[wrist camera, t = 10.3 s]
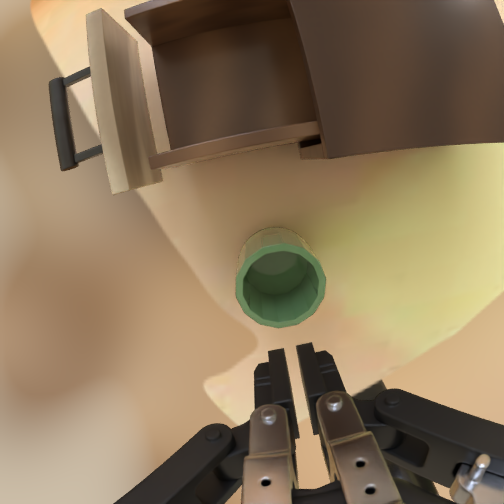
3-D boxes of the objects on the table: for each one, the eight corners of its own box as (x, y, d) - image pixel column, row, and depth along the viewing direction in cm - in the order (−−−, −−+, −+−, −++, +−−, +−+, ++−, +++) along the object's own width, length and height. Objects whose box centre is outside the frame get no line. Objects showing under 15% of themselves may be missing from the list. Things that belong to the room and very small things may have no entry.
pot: (316, 288, 28) (330, 317, 22) (246, 302, 28) (245, 334, 23) (306, 220, 26) (320, 236, 21) (230, 235, 26) (225, 254, 21)
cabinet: (300, 159, 25) (328, 159, 16) (265, 9, 21) (272, -51, 12) (465, 140, 24) (532, 141, 15) (431, 11, 20) (483, -23, 11)
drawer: (98, 199, 24) (50, 215, 17) (75, 66, 21) (28, 46, 14) (343, 145, 23) (378, 141, 16) (308, 6, 20) (326, -39, 13)
